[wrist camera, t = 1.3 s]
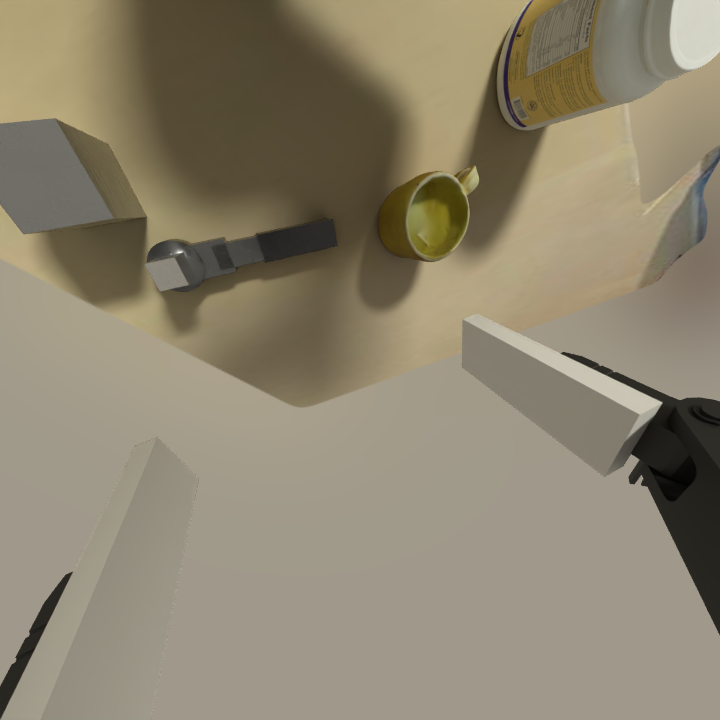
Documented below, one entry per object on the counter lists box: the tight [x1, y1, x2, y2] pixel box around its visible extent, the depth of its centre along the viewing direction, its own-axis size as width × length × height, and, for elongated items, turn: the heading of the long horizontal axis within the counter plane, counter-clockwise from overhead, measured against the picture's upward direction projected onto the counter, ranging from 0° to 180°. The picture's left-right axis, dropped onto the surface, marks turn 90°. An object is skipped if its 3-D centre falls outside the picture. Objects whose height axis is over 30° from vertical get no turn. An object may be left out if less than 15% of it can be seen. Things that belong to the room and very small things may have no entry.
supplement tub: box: [497, 0, 720, 130], centre depth 26 cm, size 12×12×17 cm
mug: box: [378, 166, 479, 262], centre depth 34 cm, size 12×10×10 cm
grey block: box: [0, 118, 147, 234], centre depth 22 cm, size 6×6×8 cm
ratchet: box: [144, 219, 338, 292], centre depth 29 cm, size 21×5×6 cm, turn 100°
